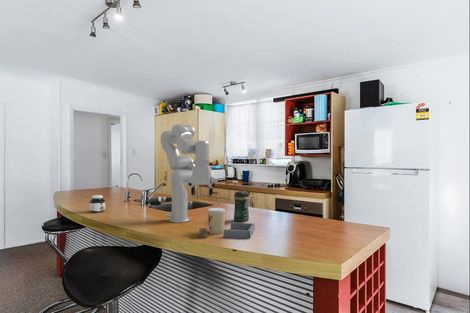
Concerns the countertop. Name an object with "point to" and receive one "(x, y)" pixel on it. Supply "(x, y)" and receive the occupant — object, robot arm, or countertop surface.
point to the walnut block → (202, 232)
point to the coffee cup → (216, 220)
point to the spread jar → (97, 204)
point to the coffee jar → (241, 206)
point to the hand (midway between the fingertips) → (202, 195)
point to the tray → (240, 230)
